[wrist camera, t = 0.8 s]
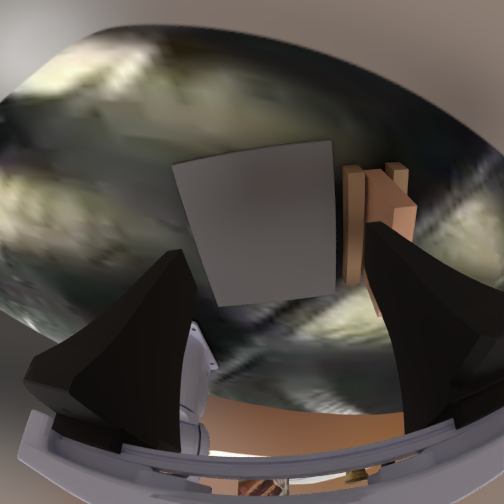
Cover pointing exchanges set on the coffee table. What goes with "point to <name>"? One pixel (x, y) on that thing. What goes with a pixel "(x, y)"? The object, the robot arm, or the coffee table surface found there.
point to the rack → (360, 214)
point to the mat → (264, 221)
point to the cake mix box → (263, 487)
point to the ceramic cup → (356, 476)
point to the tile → (386, 212)
